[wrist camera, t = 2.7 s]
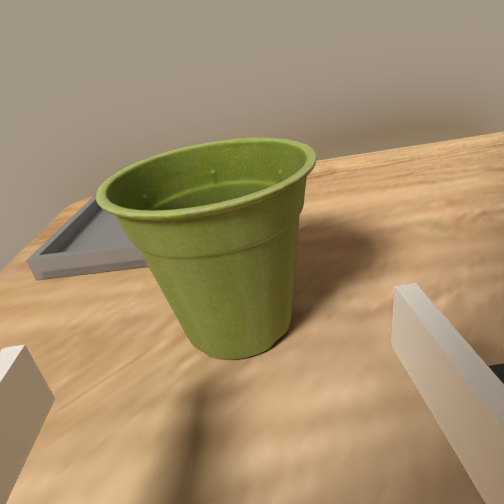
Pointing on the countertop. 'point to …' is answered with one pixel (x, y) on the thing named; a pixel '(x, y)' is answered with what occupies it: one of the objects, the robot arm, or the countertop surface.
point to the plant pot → (219, 235)
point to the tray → (86, 246)
